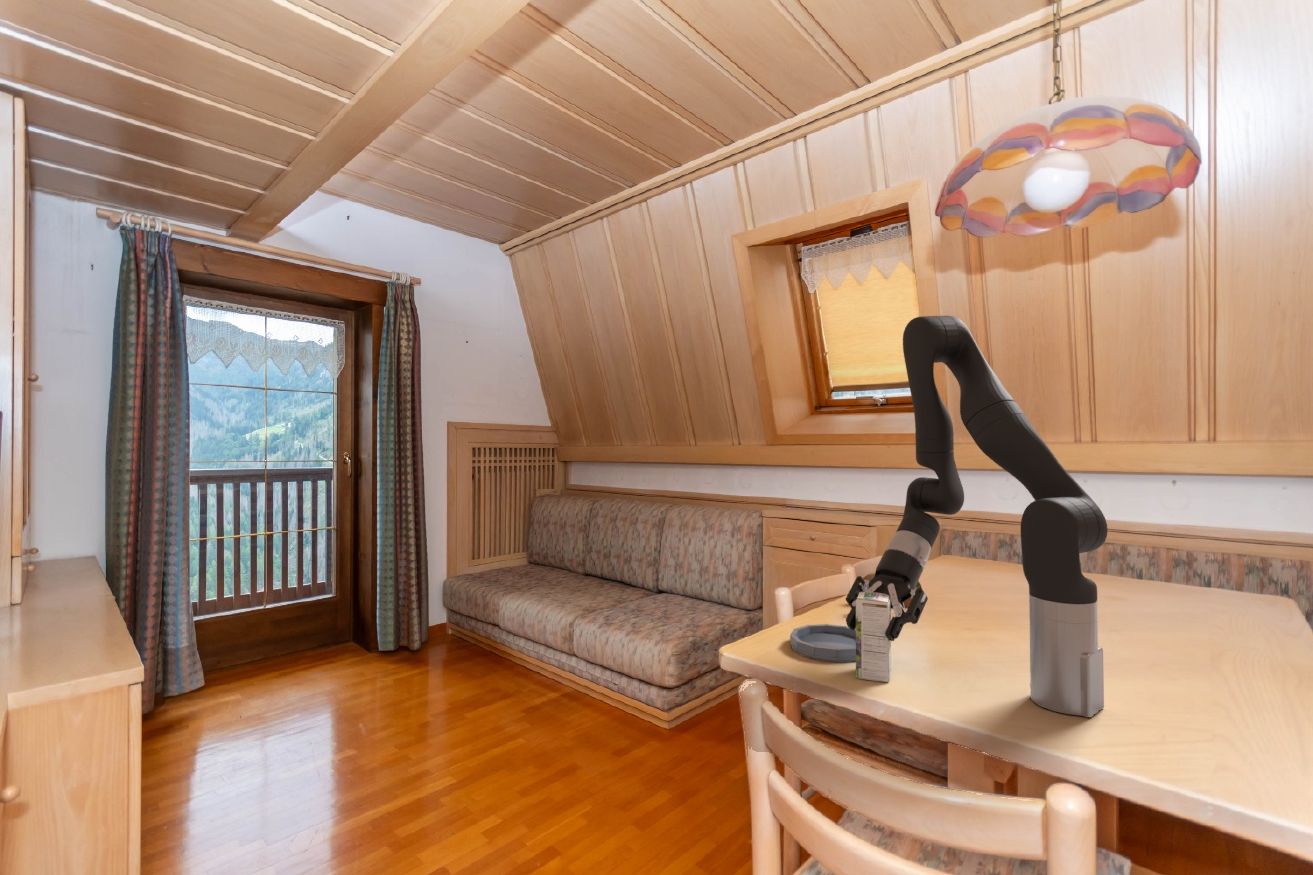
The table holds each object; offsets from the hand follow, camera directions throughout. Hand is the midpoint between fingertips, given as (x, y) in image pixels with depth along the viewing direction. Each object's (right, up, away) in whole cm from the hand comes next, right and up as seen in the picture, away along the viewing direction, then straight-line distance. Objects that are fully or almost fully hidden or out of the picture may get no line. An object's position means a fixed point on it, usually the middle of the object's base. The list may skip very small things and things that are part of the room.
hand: (869, 632), depth 112 cm
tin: (+22, -8, +47) cm, 53 cm away
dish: (-2, -8, +16) cm, 18 cm away
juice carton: (+1, -8, +1) cm, 8 cm away
